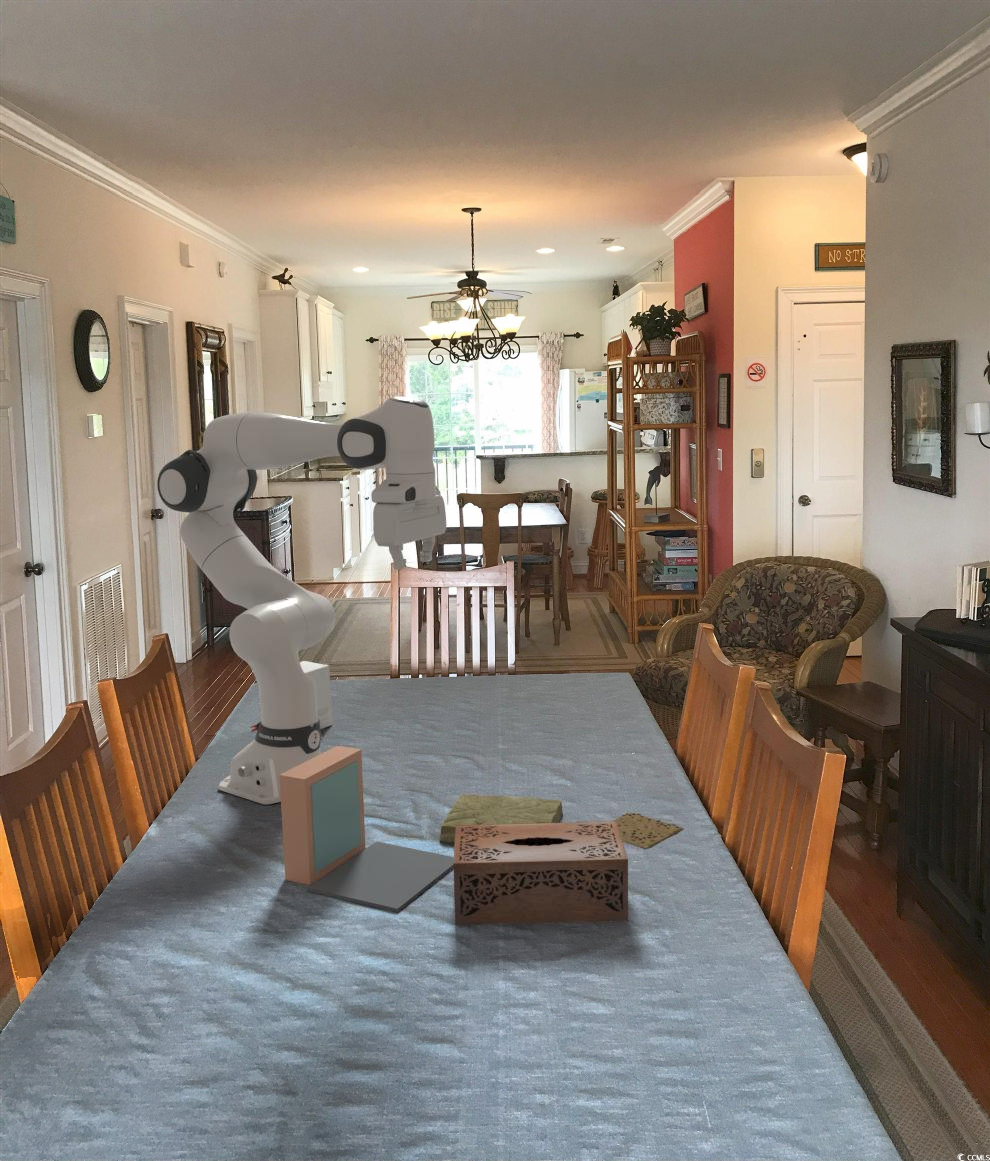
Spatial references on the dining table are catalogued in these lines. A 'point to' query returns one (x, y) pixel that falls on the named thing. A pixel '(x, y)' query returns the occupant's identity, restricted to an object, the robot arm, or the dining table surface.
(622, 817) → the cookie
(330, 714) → the supplement box
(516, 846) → the tissue box cover
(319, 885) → the slate mat
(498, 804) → the decorative tile
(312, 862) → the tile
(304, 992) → the dining table surface
